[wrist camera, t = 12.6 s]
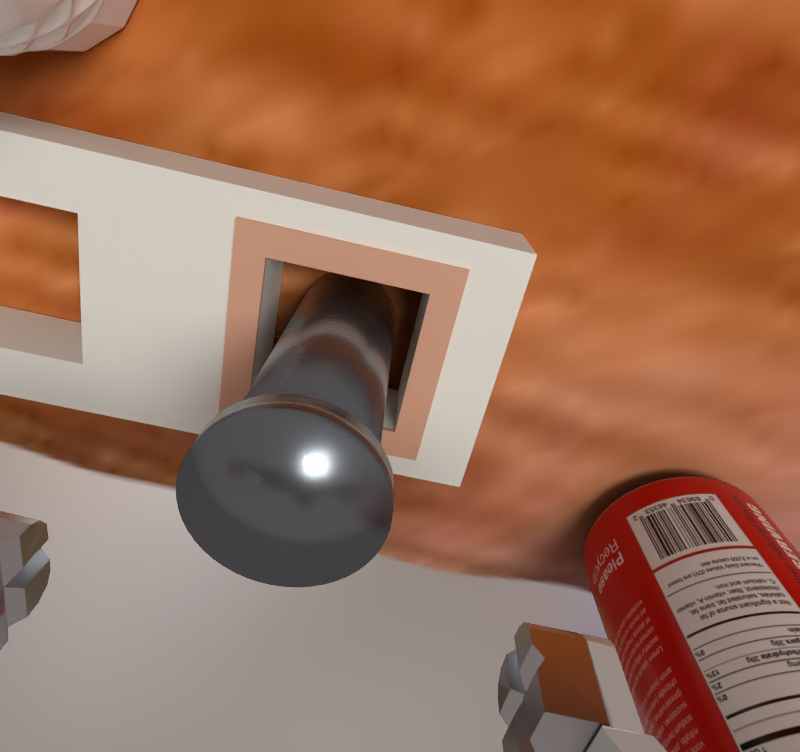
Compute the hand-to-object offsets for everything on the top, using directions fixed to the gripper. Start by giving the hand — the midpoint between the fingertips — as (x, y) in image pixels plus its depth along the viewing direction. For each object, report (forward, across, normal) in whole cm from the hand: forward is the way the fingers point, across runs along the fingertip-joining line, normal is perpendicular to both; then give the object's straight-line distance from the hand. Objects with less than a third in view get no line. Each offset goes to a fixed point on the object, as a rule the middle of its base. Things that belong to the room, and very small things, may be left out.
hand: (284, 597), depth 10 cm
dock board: (+13, -6, 0) cm, 14 cm away
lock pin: (+13, -1, 0) cm, 13 cm away
